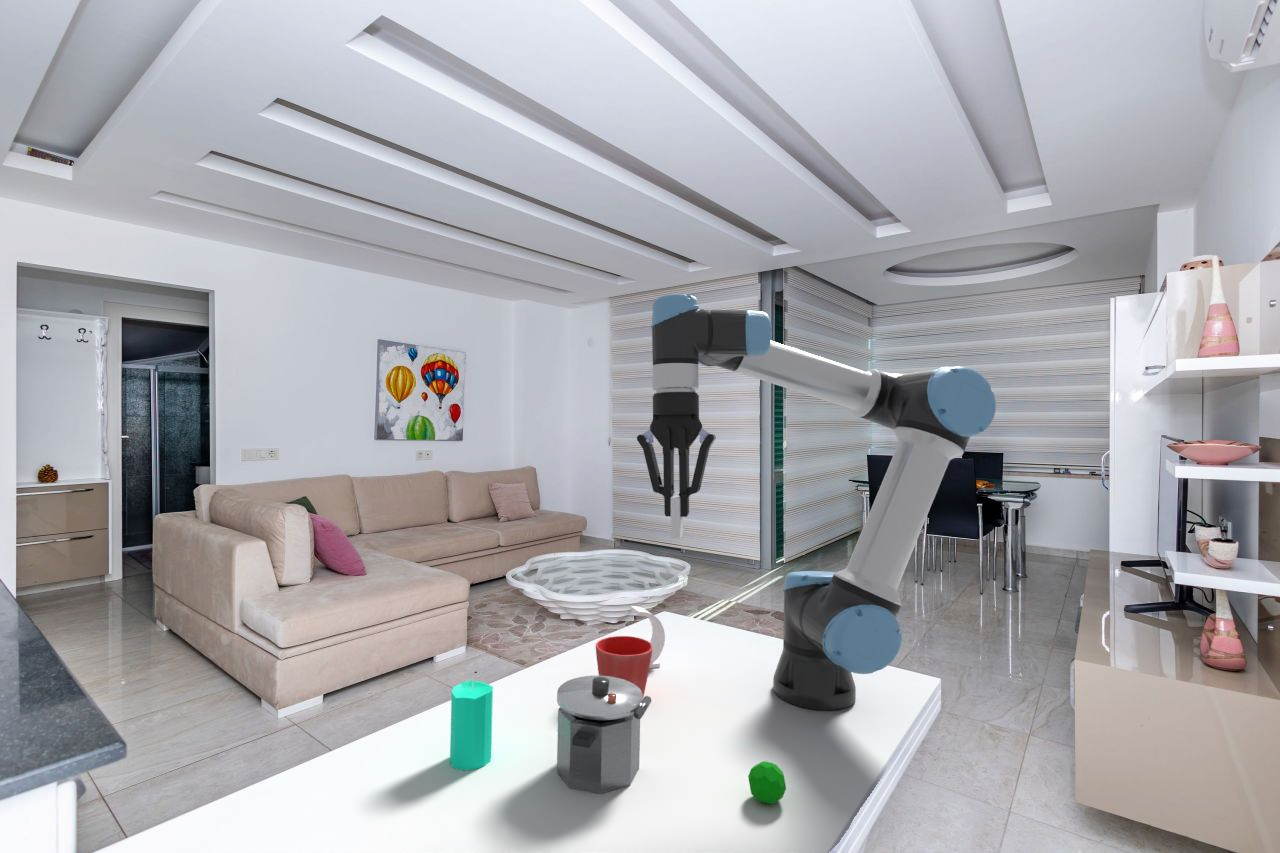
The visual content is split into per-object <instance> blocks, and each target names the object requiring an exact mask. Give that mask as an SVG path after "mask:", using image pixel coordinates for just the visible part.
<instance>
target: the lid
mask: <svg viewBox="0 0 1280 853" xmlns="http://www.w3.org/2000/svg"><path fill="white" fill-rule="evenodd" d="M556 702H557V706H559V708H560V707H561V708H562V709H563V710H564V711H566V712H567V713H569V714H572V715H574V716H577V717H581V718H585V719H592V720H614V719H620V718H624V717H627V716H630V715H632V714H634V717H635V718H636V719H640V720H641V719H642V718H643V716H644V715H645V713H646V712H647V710H648V708H649V707H650V704H651V703H652V697H651V696H649V695H645V696H644V697H643V693H642V691H641V690H640V688H639V687H638V686H636V685H635V684H633V683H631V682H629V681H627V680H624V679H620V678H616V677H610V676H599V675H585V676H579V677H575V678H572V679H569V680H566V681H564V682H563V683H562V684H561V685H560V686H559V687H558V688H557V693H556Z"/></svg>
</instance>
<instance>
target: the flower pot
mask: <svg viewBox="0 0 1280 853" xmlns="http://www.w3.org/2000/svg"><path fill="white" fill-rule="evenodd" d="M652 650H653V646H652V644H651V643H650V641H648V640H646V639H644V638H641V637H638V636H637V637H636V636H629V635H623V636H622V635H617V636H616V635H615V636H608V637H603V638H602V639H600V640H598V641H597V642H596V643H595V656H596V661H597V663H596V664H597V672H598V676H610V677H616V678H620V679H624V680H627V681H629V682H631V683H633V684H635V685H636V686H638V687H639V688H640V690H641V691H642V693H643V698H644V697H645V696H644V695H645V692H646V687H647V682H648V677H649V673H650V672H649V671H650V669H649V667H650V662H651V657H652Z"/></svg>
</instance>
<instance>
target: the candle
mask: <svg viewBox="0 0 1280 853" xmlns="http://www.w3.org/2000/svg"><path fill="white" fill-rule="evenodd" d="M493 692H494V686H492V685H490V684H488V683H486V682H482V681H478V680H474V678H473V677H472V679H470V680H467V681H464V682H461V683H459V684H457V685H455V686H453V687H452V690H451V697H450V698H451V702H450V704H451V705H450V740H449V741H450V742H449V743H450V745H449V746H450V748H449V753H450V754H449V764H450V765H451V766H452V768H454V769H456V770H460V771H474V770H478V769H481V768H484V767H485V766H487V764H490V762H491V760H492V750H493V749H492V744H493V743H492V742H493V741H492V740H493V736H492V735H493V702H494V700H493V697H494V693H493Z"/></svg>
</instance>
